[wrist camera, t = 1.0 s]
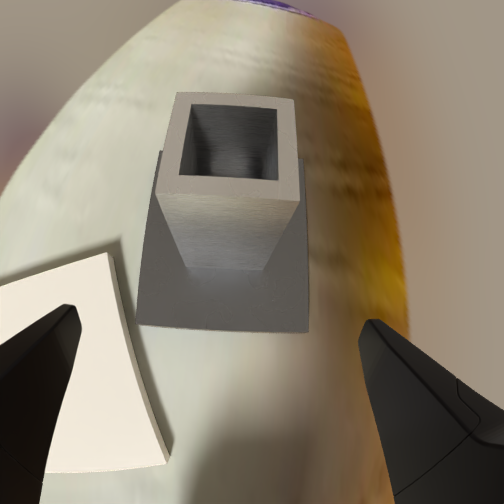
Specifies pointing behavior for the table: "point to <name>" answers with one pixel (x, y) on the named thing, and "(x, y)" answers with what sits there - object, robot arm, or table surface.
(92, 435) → the cutting board
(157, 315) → the grey piece
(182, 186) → the square hollow tube
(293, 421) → the table surface
